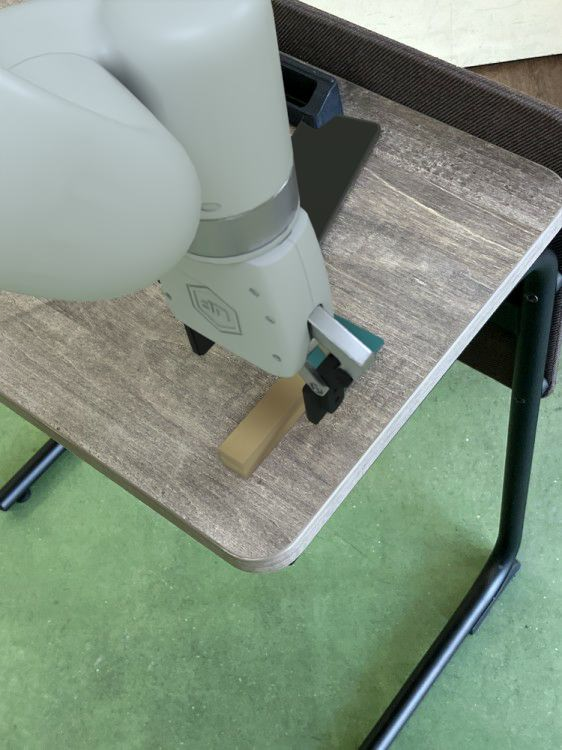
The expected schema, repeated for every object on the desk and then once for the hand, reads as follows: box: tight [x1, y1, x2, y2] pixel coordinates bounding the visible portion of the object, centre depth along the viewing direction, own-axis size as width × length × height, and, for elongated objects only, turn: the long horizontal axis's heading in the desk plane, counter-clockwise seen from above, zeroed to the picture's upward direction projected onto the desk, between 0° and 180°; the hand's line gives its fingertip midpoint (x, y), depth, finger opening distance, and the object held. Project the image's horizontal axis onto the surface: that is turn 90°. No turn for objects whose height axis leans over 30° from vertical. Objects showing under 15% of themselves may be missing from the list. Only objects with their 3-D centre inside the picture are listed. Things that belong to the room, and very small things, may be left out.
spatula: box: [217, 313, 385, 481], centre depth 69 cm, size 15×5×2 cm, turn 142°
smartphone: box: [291, 112, 382, 247], centre depth 82 cm, size 7×1×16 cm
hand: (267, 372), depth 63 cm, fingers open, 9 cm apart
